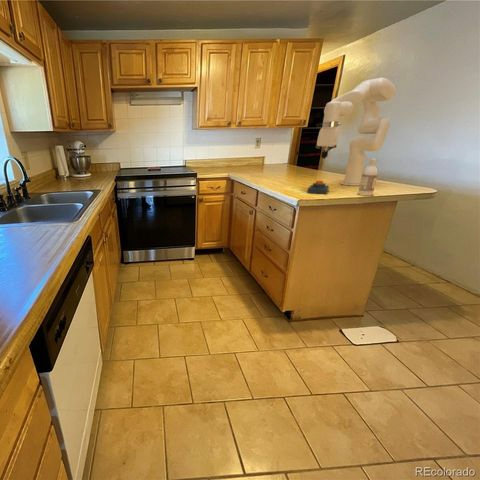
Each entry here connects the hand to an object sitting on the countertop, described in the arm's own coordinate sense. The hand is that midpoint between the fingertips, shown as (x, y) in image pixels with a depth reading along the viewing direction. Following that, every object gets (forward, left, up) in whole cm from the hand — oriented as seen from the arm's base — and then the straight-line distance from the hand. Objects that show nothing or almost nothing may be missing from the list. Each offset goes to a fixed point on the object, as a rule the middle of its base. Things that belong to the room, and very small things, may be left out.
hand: (323, 158), depth 160 cm
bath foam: (-6, +23, -20) cm, 31 cm away
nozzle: (+1, 0, -16) cm, 16 cm away
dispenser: (+1, 0, -20) cm, 20 cm away
